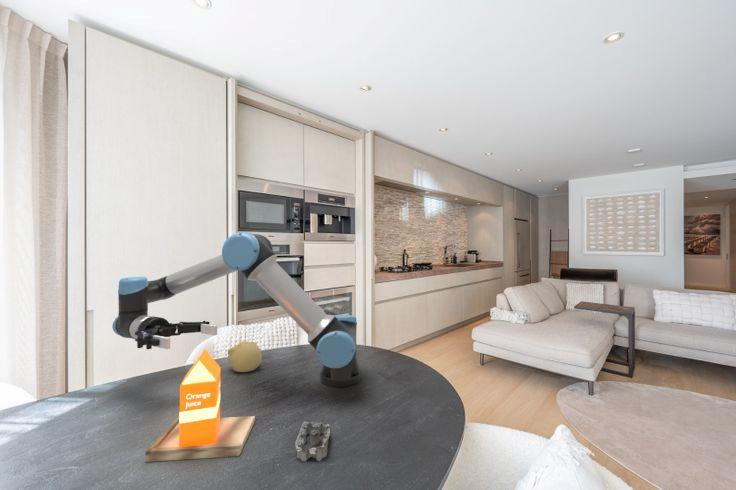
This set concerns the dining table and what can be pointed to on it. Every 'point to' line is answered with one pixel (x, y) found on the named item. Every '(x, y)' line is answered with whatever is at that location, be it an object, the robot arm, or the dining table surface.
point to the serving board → (227, 444)
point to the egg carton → (312, 440)
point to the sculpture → (245, 356)
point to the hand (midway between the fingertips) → (194, 336)
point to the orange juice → (200, 403)
